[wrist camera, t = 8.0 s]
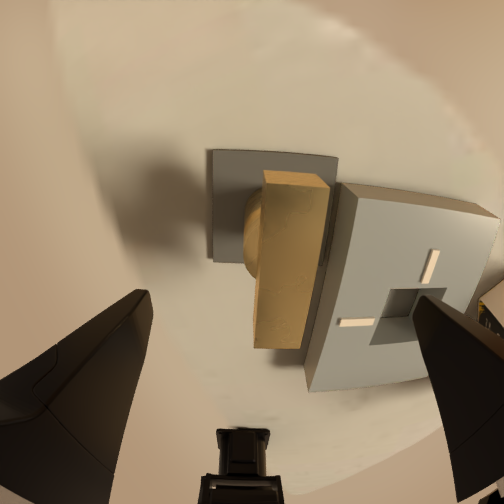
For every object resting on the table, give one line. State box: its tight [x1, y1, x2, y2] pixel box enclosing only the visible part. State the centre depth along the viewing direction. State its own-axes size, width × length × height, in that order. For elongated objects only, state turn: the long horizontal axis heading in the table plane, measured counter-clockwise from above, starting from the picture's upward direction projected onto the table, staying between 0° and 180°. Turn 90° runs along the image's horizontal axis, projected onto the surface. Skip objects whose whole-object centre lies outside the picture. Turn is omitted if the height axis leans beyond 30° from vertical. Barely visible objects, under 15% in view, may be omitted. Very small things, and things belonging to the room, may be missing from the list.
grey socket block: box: [304, 183, 501, 393], centre depth 19 cm, size 16×12×3 cm
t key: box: [243, 170, 330, 349], centre depth 13 cm, size 3×7×7 cm, turn 177°
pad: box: [213, 149, 338, 266], centre depth 17 cm, size 7×7×1 cm
